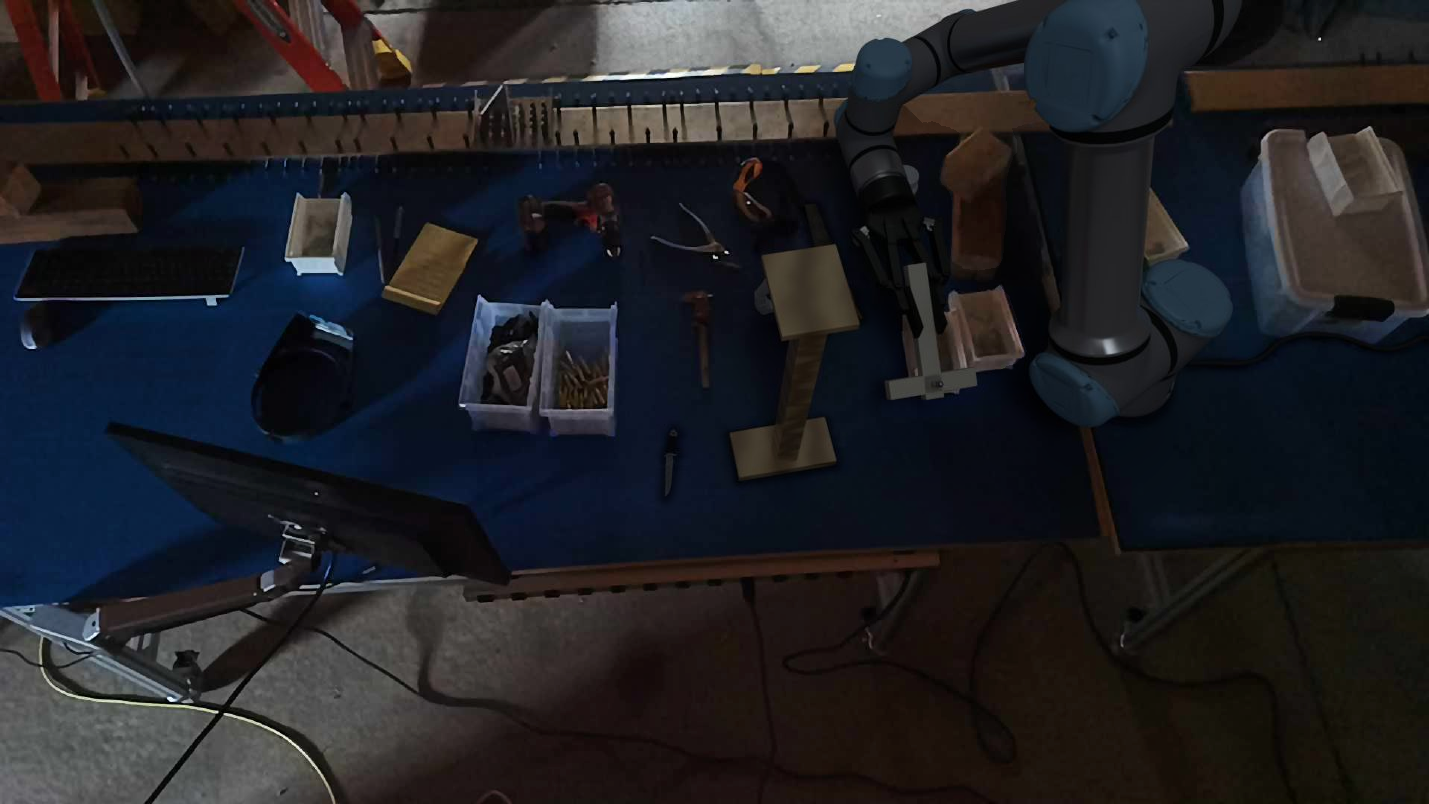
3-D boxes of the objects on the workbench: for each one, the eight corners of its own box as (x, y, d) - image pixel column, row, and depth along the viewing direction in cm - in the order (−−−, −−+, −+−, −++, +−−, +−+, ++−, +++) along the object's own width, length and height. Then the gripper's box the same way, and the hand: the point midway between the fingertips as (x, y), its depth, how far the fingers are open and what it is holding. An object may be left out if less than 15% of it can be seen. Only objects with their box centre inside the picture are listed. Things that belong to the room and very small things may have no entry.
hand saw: (789, 208, 143) (789, 206, 142) (815, 203, 143) (816, 200, 143) (835, 329, 132) (835, 326, 132) (863, 322, 133) (864, 320, 132)
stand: (819, 405, 127) (863, 239, 91) (836, 468, 122) (889, 319, 86) (726, 421, 125) (733, 259, 90) (739, 484, 121) (752, 341, 85)
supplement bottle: (894, 225, 141) (905, 191, 134) (875, 206, 143) (884, 172, 135) (916, 211, 143) (927, 176, 135) (897, 193, 144) (907, 158, 137)
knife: (668, 497, 120) (668, 496, 120) (655, 495, 120) (655, 494, 120) (682, 431, 125) (682, 430, 124) (670, 429, 125) (670, 428, 124)
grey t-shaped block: (954, 259, 116) (969, 254, 111) (972, 390, 117) (987, 392, 113) (868, 272, 115) (879, 268, 110) (887, 404, 116) (899, 407, 111)
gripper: (929, 200, 127) (979, 336, 117) (826, 215, 125) (868, 354, 115) (942, 165, 120) (996, 306, 110) (833, 180, 119) (878, 325, 109)
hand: (930, 330), depth 113 cm, fingers closed on grey t-shaped block, 2 cm apart
